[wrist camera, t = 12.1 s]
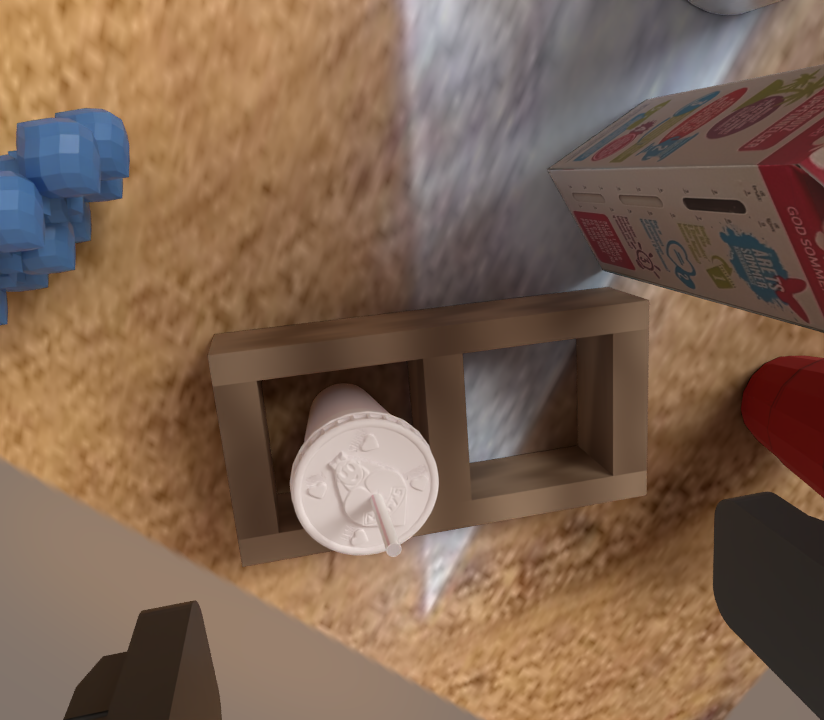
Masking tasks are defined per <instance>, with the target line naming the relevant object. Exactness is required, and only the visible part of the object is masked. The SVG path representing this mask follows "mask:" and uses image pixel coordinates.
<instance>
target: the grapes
mask: <svg viewBox="0 0 824 720" xmlns="http://www.w3.org/2000/svg"><path fill="white" fill-rule="evenodd" d="M16 147H17V151H9V152H8V155H2V156H0V325H5V324H7V319H8V303H7V293H6V291H8V292H20V291H29V290H36V289H41V288H47V287H48V279H49V274H51V273H60V272H65V271H71V270H75V261H76V250H75V243H80V242H85V241H91V212H90V205H89V202H102V201H110V200H116V199H121V198H122V192H123V178H126V177H129V163H130V158H129V141H128V136H127V132H126V130H125V127H124V124H123V122H122V120H121V119H119V118H118V117H116V116H115V115H113V114H112V113H110V112H108V111H106V110H103V109H92V108H84V109H77V110H71V111H65V112H59V113H55V118H46V119H39V120H33V121H27V122H21V123H17V132H16Z"/></svg>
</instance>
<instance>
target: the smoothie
mask: <svg viewBox="0 0 824 720" xmlns="http://www.w3.org/2000/svg"><path fill="white" fill-rule="evenodd" d="M438 488H439V477H438V470H437V465H436V462H435V459H434V457H433V455H432V453H431V450H430V447H429V445H428V443H427V442H426V441H425V439H424V438H423V437H422V435H421V434H420V432H419V431H418V430H416V429H415V428H414V427H412V426H411V425H410V424H409V423H407V422H406V421H405V420H403V419H400V418H398V417H395V416H393V415H390V414H389V413H388V412H387V411H386V410H385V409H384V408H383V407H382V406H381V405H380V404H379V403H378V402H377V401H375V400H374V399H373V398H372V397H371V396H370V395H369V394H368V393H367V392H366V391H365V390H363V389H362V388H360V387H358V386H356V385H353V384H348V383H340V384H335V385H332V386H329V387H327V388H325V389H324V390H323V391H321V392H320V393H319V394H318V395H317V396H316V398H315V399H314V401H313V403H312V405H311V408H310V413H309V418H308V423H307V429H306V434H305V439H304V444H303V445H302V446H301V448H300V450H299V452H298V454H297V456H296V458H295V460H294V463H293V466H292V471H291V477H290V490H291V498H292V502H293V505H294V509H295V512H296V515H297V517H298V519H299V521H300V523H301V525H302V526H303V528H304V529H305V530H306V532H307V533H308V534H309V535H310V536H311V537H312V538H313V539H314V540H316V541H317V542H318V543H320V544H321V545H323V546H325V547H327V548H329V549H331V550H333V551H336V552H340V553H343V554H349V555H371V554H377V553H381V552H384V551H387V554H388V555H389V556H392V557H395V556H397V555H399V554H400V552H401V546H400V544H402V543H404V542H405V541H406V540H408V539H409V538H410V537H412V536H413V535H414V534H415V533H416V532H417V531H418V530H419V529H420V528H421V527H422V526H423V524H424V523H425V522H426V520H427V519H428V517H429V515H430V514H431V512H432V510H433V507H434V505H435V502H436V499H437V494H438Z"/></svg>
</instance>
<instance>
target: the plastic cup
mask: <svg viewBox="0 0 824 720" xmlns="http://www.w3.org/2000/svg"><path fill="white" fill-rule="evenodd" d="M741 412H742V416H743V420H744V424H745V425H746V426H747V428H748V429H749V430H750V432H751V433H752V434H753V435H754V437H755V438H756V439H757V440H758V441H759V442H760V443H761V444H762V445H763V446H765V447H766V448H767V449H768V450H769V451H771V452H772V453H773V454H774V455H775V456H777V457H778V458H779V460H780V461H781V462H782V463H783V464H784V465H785V466H786V467H787V468H788V469H790V470H791V471H792V472H793V473H794V474H796V475H797V476H798V477H799V478H800V479H802V480H803V481H804V482H805V483H806V484H808V485H809V486H810V487H811V488H812V489H813V490H815V491H816V492H817V493H818V494H819V495H821V496H822V497H823V498H824V358H818V357H811V356H786V357H778V358H776V359H774V360H772V361H770V362H767V363H765V364H764V365H763V366H762V367H761V368H760V369H759V370H758V371H757V372H756V373H755V374H753V375H752V377H751V379H750V381H749V382H748V384H747V386H746V388H745V390H744V392H743V398H742V404H741Z"/></svg>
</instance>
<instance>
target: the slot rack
mask: <svg viewBox="0 0 824 720" xmlns="http://www.w3.org/2000/svg"><path fill="white" fill-rule="evenodd" d="M568 339H576V357H577V421H578V446H573V447H567V448H560V449H554V450H548V451H542V452H536V453H529V454H523V455H517V456H511V457H505V458H498V459H492V460H486V461H480V462H474V463H469V450H468V434H467V417H466V401H465V385H464V369H463V353H470V352H478V351H485V350H493V349H500V348H508V347H515V346H523V345H530V344H538V343H545V342H553V341H561V340H568ZM207 356H208V362H209V368H210V374H211V380H212V386H213V392H214V398H215V404H216V410H217V416H218V422H219V428H220V434H221V440H222V446H223V452H224V458H225V464H226V470H227V476H228V482H229V488H230V495H231V501H232V507H233V513H234V519H235V525H236V531H237V537H238V543H239V549H240V555H241V561H242V567H245V566H251V565H256V564H262V563H267V562H273V561H279V560H284V559H290V558H296V557H301V556H307V555H313V554H318V553H324V552H329V551H333V550H331V549H329V548H327V547H325V546H323V545H321V544H320V543H318V542H317V541H316V540H314V539H313V538H312V537H311V536H310V535H309V534H308V533H307V532H306V530H305V529H304V528H303V526H302V525H301V523H300V521H299V519H298V517H297V515H296V512H295V509H294V505H293V502H292V498H291V492H287V493H281V494H277V488H276V481H275V474H274V467H273V460H272V454H271V447H270V440H269V433H268V426H267V419H266V412H265V405H264V399H263V392H262V385H261V380H267V379H274V378H282V377H289V376H297V375H304V374H312V373H320V372H327V371H335V370H342V369H350V368H357V367H365V366H372V365H380V364H387V363H395V362H402V361H407V364H408V375H409V387H410V399H411V411H412V423H413V427H414V428H415V429H416V430H418V431H419V432H420V434H421V435H422V437H423V438H424V439H425V441H426V442H427V443H428V445H429V447H430V450H431V453H432V455H433V457H434V459H435V462H436V465H437V470H438V477H439V488H438V494H437V499H436V502H435V505H434V507H433V510H432V512H431V514H430V515H429V517H428V519H427V520H426V522H425V523H424V524H423V526H422V527H421V528H420V529H419V530H418V531H417V532H416V533H415V534H414V535H413V536H412V537H414V536H420V535H425V534H431V533H436V532H442V531H448V530H453V529H459V528H465V527H470V526H476V525H481V524H487V523H493V522H498V521H504V520H510V519H515V518H521V517H527V516H532V515H538V514H543V513H549V512H555V511H560V510H566V509H572V508H577V507H583V506H588V505H594V504H600V503H605V502H611V501H617V500H622V499H628V498H634V497H639V496H645V495H647V430H648V356H649V300H647V299H644V298H641V297H638V296H635V295H631V294H628V293H625V292H622V291H619V290H616V289H613V288H610V287H603V288H595V289H586V290H578V291H570V292H561V293H553V294H545V295H536V296H528V297H520V298H512V299H503V300H495V301H487V302H478V303H470V304H462V305H453V306H445V307H437V308H428V309H420V310H412V311H403V312H395V313H387V314H378V315H370V316H362V317H353V318H345V319H337V320H328V321H320V322H312V323H303V324H295V325H287V326H278V327H270V328H262V329H253V330H245V331H237V332H229V333H220V334H214V337H213V340H212V343H211V346H210V349H209V352H208V355H207Z"/></svg>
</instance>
